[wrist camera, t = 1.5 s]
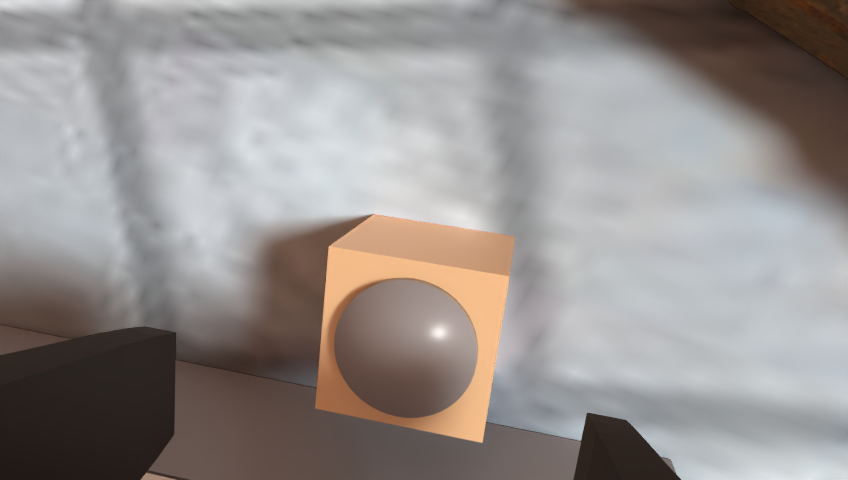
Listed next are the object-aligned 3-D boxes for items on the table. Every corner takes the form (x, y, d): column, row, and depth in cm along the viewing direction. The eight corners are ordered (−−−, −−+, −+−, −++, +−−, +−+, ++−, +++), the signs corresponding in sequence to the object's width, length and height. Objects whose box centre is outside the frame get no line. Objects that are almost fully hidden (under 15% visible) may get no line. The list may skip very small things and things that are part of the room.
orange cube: (493, 368, 18) (481, 450, 13) (361, 343, 18) (310, 414, 14) (515, 235, 17) (508, 280, 13) (374, 213, 17) (324, 249, 13)
